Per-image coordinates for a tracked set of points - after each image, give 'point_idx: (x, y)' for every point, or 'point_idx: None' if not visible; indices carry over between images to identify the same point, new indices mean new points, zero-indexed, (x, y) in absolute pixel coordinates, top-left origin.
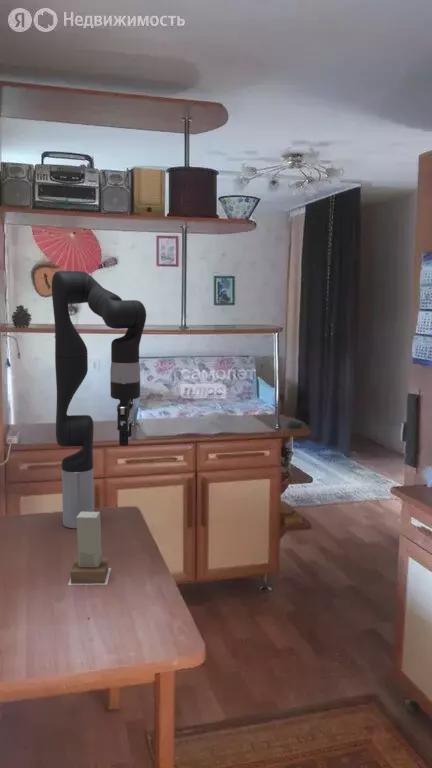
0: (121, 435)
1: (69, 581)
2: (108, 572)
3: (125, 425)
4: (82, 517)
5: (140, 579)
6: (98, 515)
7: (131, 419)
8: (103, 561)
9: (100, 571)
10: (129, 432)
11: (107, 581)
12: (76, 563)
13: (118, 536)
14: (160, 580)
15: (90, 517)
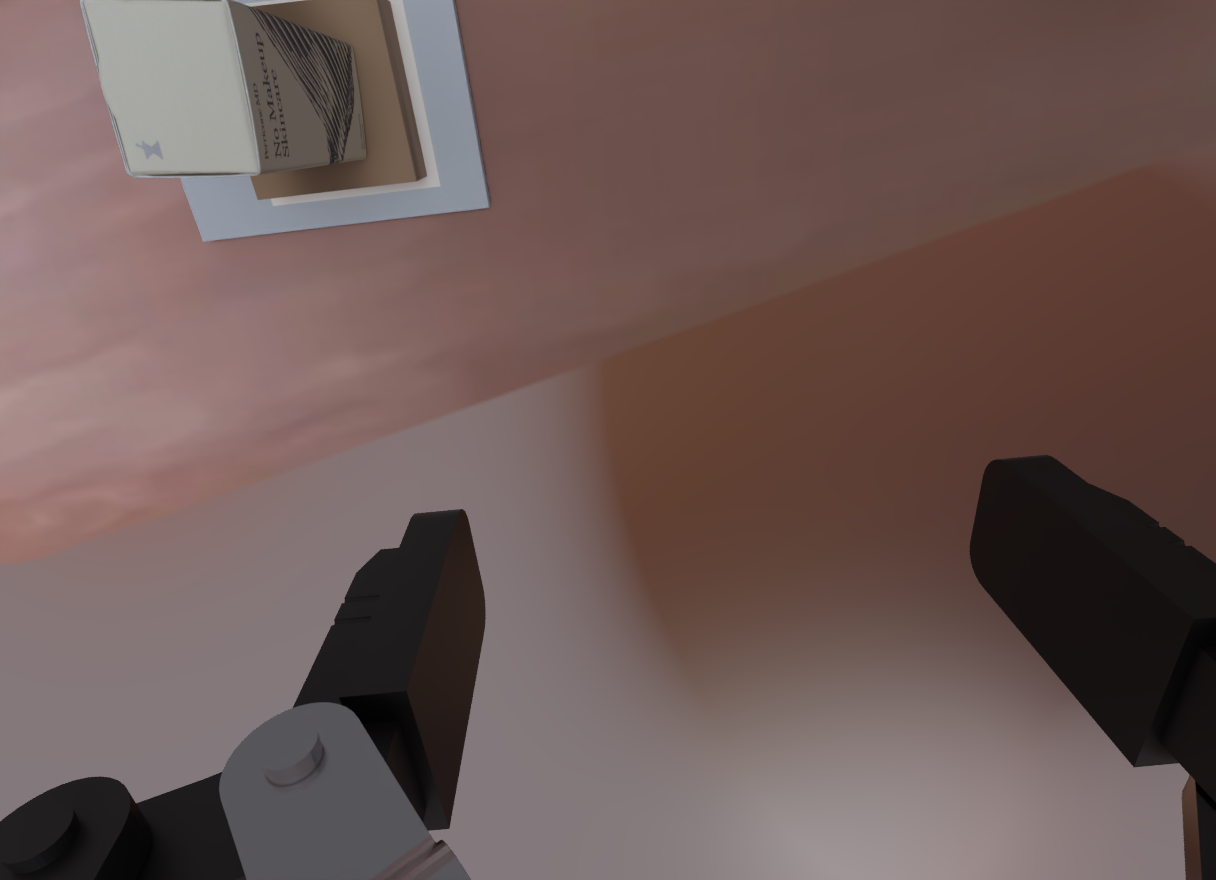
0: (315, 682)
1: (247, 5)
2: (393, 184)
3: (1130, 631)
4: (95, 55)
5: (403, 324)
6: (194, 177)
7: (1187, 878)
8: (367, 166)
9: (251, 180)
10: (1016, 592)
11: (302, 202)
12: (305, 16)
13: (865, 124)
14: (412, 399)
15: (115, 127)
